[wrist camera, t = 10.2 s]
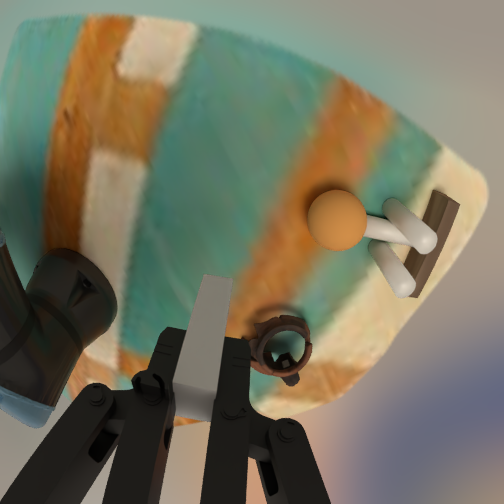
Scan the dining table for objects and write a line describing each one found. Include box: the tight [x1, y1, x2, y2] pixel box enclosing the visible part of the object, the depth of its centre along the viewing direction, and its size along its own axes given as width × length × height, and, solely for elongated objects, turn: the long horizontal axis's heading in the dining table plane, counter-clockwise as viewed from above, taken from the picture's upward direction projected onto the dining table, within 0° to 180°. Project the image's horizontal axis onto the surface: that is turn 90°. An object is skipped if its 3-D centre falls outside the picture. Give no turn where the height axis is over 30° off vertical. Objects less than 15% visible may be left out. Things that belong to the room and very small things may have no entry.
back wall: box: [404, 190, 460, 298], centre depth 29 cm, size 2×13×4 cm, turn 170°
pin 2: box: [368, 239, 416, 298], centre depth 27 cm, size 2×2×8 cm
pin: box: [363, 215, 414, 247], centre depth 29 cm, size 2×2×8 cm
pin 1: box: [382, 198, 437, 254], centre depth 25 cm, size 2×2×8 cm
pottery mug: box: [241, 315, 312, 386], centre depth 36 cm, size 12×10×8 cm
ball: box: [307, 190, 367, 251], centre depth 26 cm, size 6×6×6 cm
